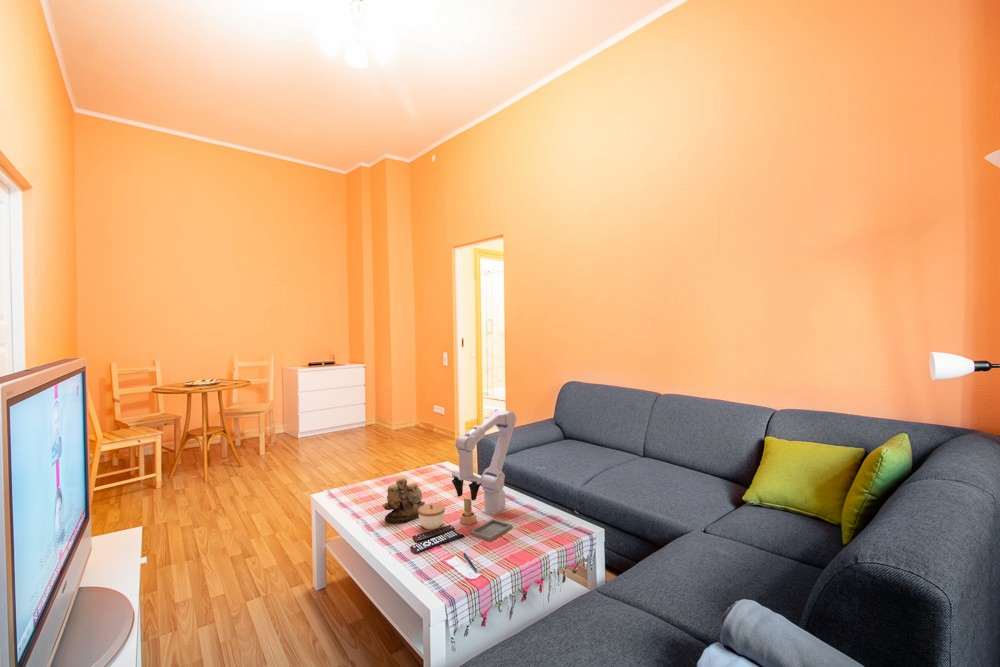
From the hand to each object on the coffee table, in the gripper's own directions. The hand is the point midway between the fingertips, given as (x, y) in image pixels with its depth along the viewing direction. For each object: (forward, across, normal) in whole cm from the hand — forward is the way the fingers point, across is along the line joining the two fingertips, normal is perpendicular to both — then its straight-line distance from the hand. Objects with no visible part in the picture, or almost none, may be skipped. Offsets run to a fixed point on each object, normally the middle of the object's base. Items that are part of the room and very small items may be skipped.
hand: (466, 497), depth 193 cm
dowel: (+10, 0, 0) cm, 10 cm away
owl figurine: (+10, -26, -12) cm, 30 cm away
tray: (+10, +14, -2) cm, 17 cm away
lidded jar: (+10, -9, -12) cm, 18 cm away
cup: (+10, 0, 0) cm, 10 cm away
